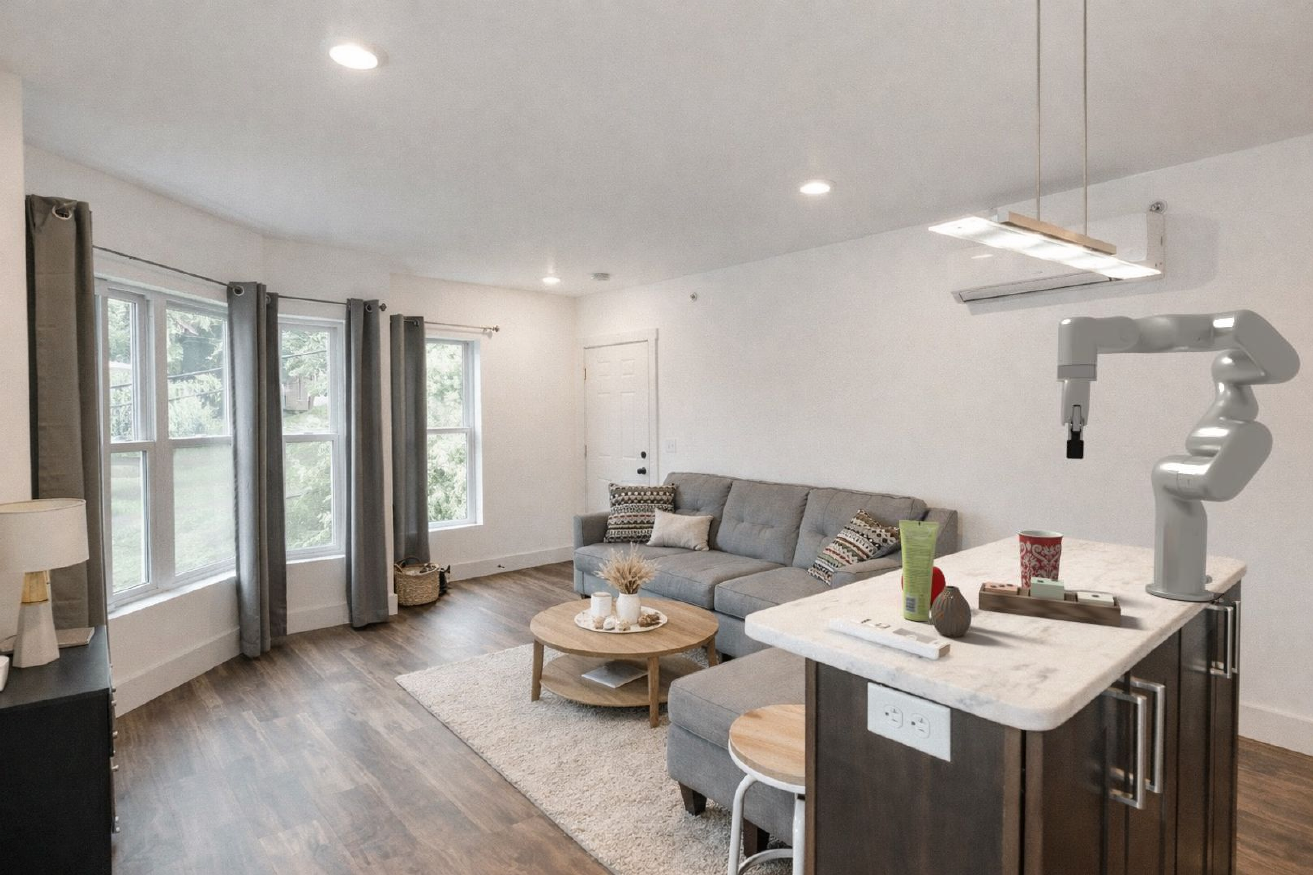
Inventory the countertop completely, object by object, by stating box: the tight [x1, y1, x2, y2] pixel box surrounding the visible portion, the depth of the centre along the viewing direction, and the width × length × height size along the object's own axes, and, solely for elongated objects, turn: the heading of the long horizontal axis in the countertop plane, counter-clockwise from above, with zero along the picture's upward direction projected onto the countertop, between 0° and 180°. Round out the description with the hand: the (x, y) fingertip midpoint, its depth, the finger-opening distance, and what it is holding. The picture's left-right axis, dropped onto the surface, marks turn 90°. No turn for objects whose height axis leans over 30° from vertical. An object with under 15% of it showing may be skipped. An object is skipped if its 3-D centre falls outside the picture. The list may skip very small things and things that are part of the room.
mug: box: [1017, 529, 1064, 588], centre depth 166 cm, size 13×9×14 cm
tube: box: [898, 519, 940, 622], centre depth 143 cm, size 6×5×20 cm
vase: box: [930, 585, 972, 638], centre depth 133 cm, size 7×7×9 cm
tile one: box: [1076, 591, 1114, 606], centre depth 145 cm, size 6×6×3 cm
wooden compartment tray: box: [977, 582, 1122, 628], centre depth 149 cm, size 25×10×4 cm, turn 61°
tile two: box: [1030, 577, 1065, 600], centre depth 149 cm, size 6×6×3 cm
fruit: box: [900, 565, 947, 606], centre depth 155 cm, size 9×9×10 cm
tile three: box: [985, 581, 1019, 595], centre depth 153 cm, size 6×6×3 cm
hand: (1074, 458), depth 157 cm, fingers closed
